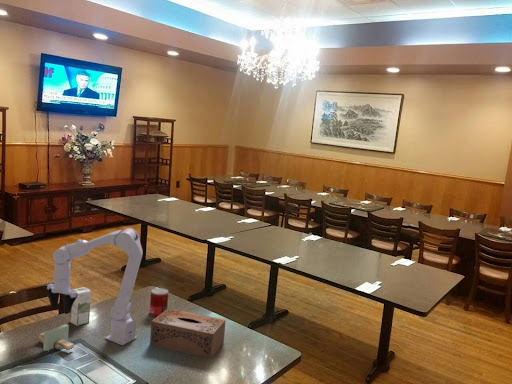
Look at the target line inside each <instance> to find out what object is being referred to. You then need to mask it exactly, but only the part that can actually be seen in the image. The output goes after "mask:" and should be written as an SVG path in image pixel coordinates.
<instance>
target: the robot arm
mask: <svg viewBox="0 0 512 384" xmlns="http://www.w3.org/2000/svg"><path fill="white" fill-rule="evenodd" d="M105 245H112V246H113V247H115V246H117V247H118V248H119V249H120V250H122V251H123V252H125V254H127V256H128V260H127V263H126V267H125V269H124V273H123V277H122V281H121V284H120V288H119V292H118V295H117V298H116V300H115V302H114V305H112V307H111V309H110V310H109V311H110V312H109V313H110V333H109V335H107V336H105V337H104V338H105V340H108V341H111V342H113V343H114V344H115V343H116V344H118V345H121V346H124V345H126V344H128V343H130V342H132V341H133V340H136V339H137V338H138V337H137V336H136V332H137V331H136V330H137V323H136V321H135V320H133V319H132V317H131V312H130V309H131V308H132V306H133V302H132V298H133V295H132V294H133V290H134V287H135V283H136V280H137V275H138V273H139V268H140V265H141V261H142V258H143V253H144V252H143V251H144V250H143V248H142V244H141V241H140V235H139V234H138V233H137V231H136V230H135V229H134V228H131V227H127V228H124V229H119V230H115V231H112V232H109V233H106V234H104V235H101V236H98V237H97V238H94V239H91V240H86V239H80V238H79V239H77V240H76V242H74V243H69V244H68V243H67V244H65V245H63V246H61V247H60V248H58V249H56V250H54V252H53V253H52V259H53V261H54V269H53V270H54V271H53V272H54V273H53V275H54V277H53V283H49V284H47V285H46V286H47V287H46V289H47V290H48V291H45V294H46V296H47V298H48V299H49V303H50V307H51V308H50V309H52V310H55V309H57V308H58V306H59V300H60V294H63V295H66V296H62V297H61V300H62V302H63V311H64V315H68V314H70V313H71V308H72V305H73V303H74V301H75V300H76V298H77V295H76V294H77V292H75V291H74V290H73V288H72V287H71V269H72V267H71V266H72V265H71V264H72V261H71V260H75V259H77V258H79V257H80V258H81V257H82V256H85V255H88V254H89V253H90V252H91V250H93V249H95V248H98V247H102V246H105Z"/></svg>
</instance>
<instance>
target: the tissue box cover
mask: <svg viewBox="0 0 512 384" xmlns="http://www.w3.org/2000/svg"><path fill="white" fill-rule="evenodd" d="M226 321H227V320H226V319H224V318H218V317H214V316H213V317H212V316H209V315H203V314H199V313H195V312H194V313H193V312H189V311H183V310H178V309H174V308H168V307H167V310H165V311H164V312H163V313H161V314H160V315H159V316H158V317H155V318H154V319H152V320H151V322H150V323H151V324H150V338H149V339H150V340H149V345H150V346H153V347H158V348H163V349H168V350H171V351H175V352H181V353H185V354H188V355H195V356H198V357H201V358H207V359H212V358H213V357H214V356H215V355H216V353H217V351H219V349H220V348H221V347H220V346H222V345H223V344H224V343H223V342H224V341H225V334H226V333H225V332H226V331H225V330H226V323H227V322H226Z"/></svg>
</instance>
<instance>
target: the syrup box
mask: <svg viewBox="0 0 512 384" xmlns="http://www.w3.org/2000/svg"><path fill="white" fill-rule="evenodd" d="M72 289H73V288H72ZM73 290H74V291H75V292H77V294H76V295H77V298H76V300H75V301H74V303H73V305H72V308H71V311H70V313H69V314H70V316H69V322H70V323H71V324H73V325H75V326H76V327H79V326H82V325H85V324H88V323H90V314H91V313H90V312H91V299H92V298H91V297H92V296H91V295H92V291H91V290H90V289H89V288H87V287H85V286H84V287H83V286H82V287H80V288H74V289H73Z"/></svg>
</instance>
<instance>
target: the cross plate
mask: <svg viewBox="0 0 512 384" xmlns="http://www.w3.org/2000/svg"><path fill="white" fill-rule="evenodd" d="M69 326H70V325H69V324H66V323H64V324H62V325H60V326H57V327H54V328H52V329H49V330H46V331H44V343H42V345H43V347H42V349H43V352H45V351H46V350H49V349H51V348H53V349H55V348H54V343H56V342H57V341H59V340H62V339H63V340H66V341H68V342H69V332H70V331H69V328H70V327H69Z"/></svg>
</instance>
